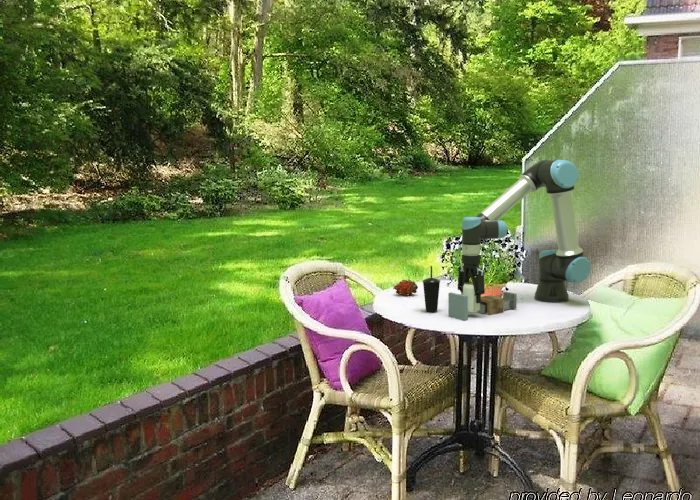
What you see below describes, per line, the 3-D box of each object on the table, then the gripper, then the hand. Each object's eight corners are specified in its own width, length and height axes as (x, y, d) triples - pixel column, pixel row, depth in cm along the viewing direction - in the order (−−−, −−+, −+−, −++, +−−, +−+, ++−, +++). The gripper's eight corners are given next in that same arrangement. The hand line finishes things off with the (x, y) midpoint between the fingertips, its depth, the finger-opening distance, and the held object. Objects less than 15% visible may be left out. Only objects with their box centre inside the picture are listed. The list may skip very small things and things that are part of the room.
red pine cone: (419, 299, 337) (395, 302, 339) (419, 286, 343) (395, 289, 346) (416, 287, 331) (391, 290, 334) (416, 274, 337) (391, 277, 340)
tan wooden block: (490, 309, 305) (490, 295, 304) (503, 312, 298) (503, 298, 298) (476, 311, 301) (476, 297, 300) (489, 315, 294) (489, 300, 293)
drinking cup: (422, 313, 299) (422, 267, 297) (422, 309, 307) (422, 264, 304) (440, 313, 298) (440, 267, 296) (440, 309, 306) (440, 264, 303)
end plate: (451, 315, 294) (451, 292, 293) (467, 320, 286) (467, 296, 285) (448, 316, 293) (448, 292, 292) (464, 320, 285) (464, 296, 284)
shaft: (505, 306, 309) (505, 291, 308) (516, 308, 304) (516, 293, 303) (476, 311, 299) (476, 296, 299) (486, 314, 294) (486, 299, 293)
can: (481, 310, 293) (481, 282, 292) (473, 313, 289) (473, 284, 287) (468, 308, 298) (468, 280, 296) (459, 311, 293) (460, 283, 291)
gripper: (448, 252, 296) (448, 306, 299) (480, 257, 280) (480, 314, 283) (462, 251, 300) (461, 303, 303) (494, 256, 284) (493, 311, 287)
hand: (470, 308), depth 293 cm, fingers closed on can, 6 cm apart
